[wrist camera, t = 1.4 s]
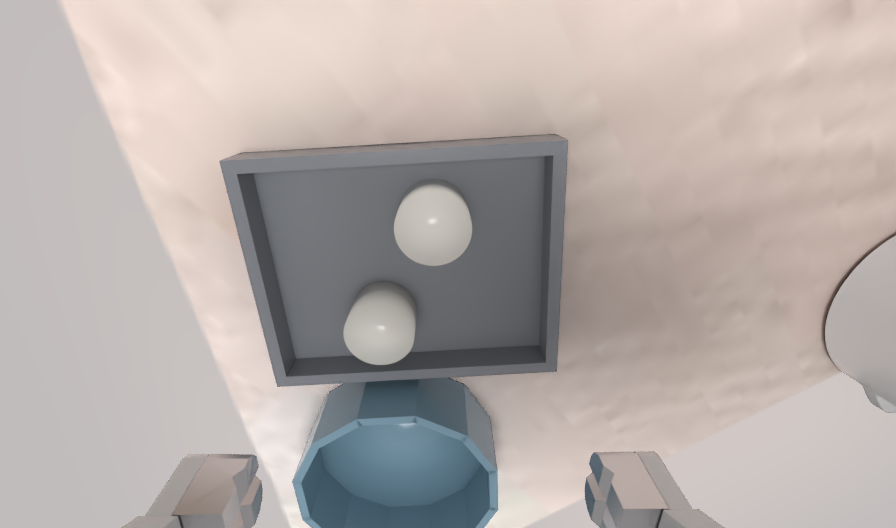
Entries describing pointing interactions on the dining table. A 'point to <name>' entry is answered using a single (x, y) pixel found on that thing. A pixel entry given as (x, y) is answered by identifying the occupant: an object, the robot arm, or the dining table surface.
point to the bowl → (399, 458)
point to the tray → (381, 260)
